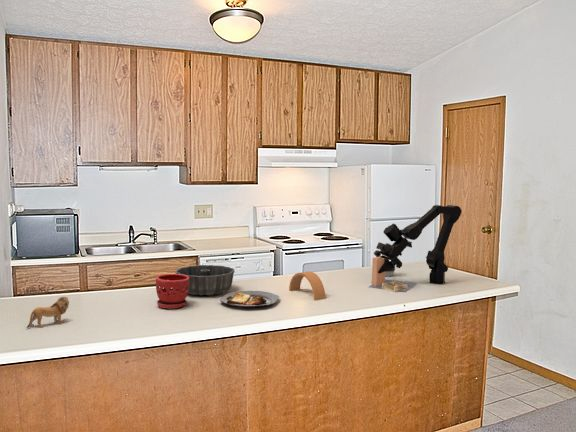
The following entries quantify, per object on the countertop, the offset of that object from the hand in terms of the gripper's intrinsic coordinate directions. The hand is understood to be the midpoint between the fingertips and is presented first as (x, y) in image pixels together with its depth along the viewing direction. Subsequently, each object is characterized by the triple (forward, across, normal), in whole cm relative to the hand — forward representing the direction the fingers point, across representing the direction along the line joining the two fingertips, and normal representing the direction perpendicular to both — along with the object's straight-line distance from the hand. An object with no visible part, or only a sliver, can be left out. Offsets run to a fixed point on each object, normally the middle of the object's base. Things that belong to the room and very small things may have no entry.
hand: (376, 271), depth 235 cm
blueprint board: (-1, +2, +11) cm, 11 cm away
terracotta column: (+4, 0, +6) cm, 7 cm away
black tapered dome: (-6, -20, +16) cm, 26 cm away
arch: (+31, +4, -20) cm, 37 cm away
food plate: (+50, +10, -40) cm, 65 cm away
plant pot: (+72, +7, -62) cm, 95 cm away
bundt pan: (+61, -13, -50) cm, 80 cm away
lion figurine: (+103, +19, -93) cm, 140 cm away
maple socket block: (+1, +9, +8) cm, 12 cm away
